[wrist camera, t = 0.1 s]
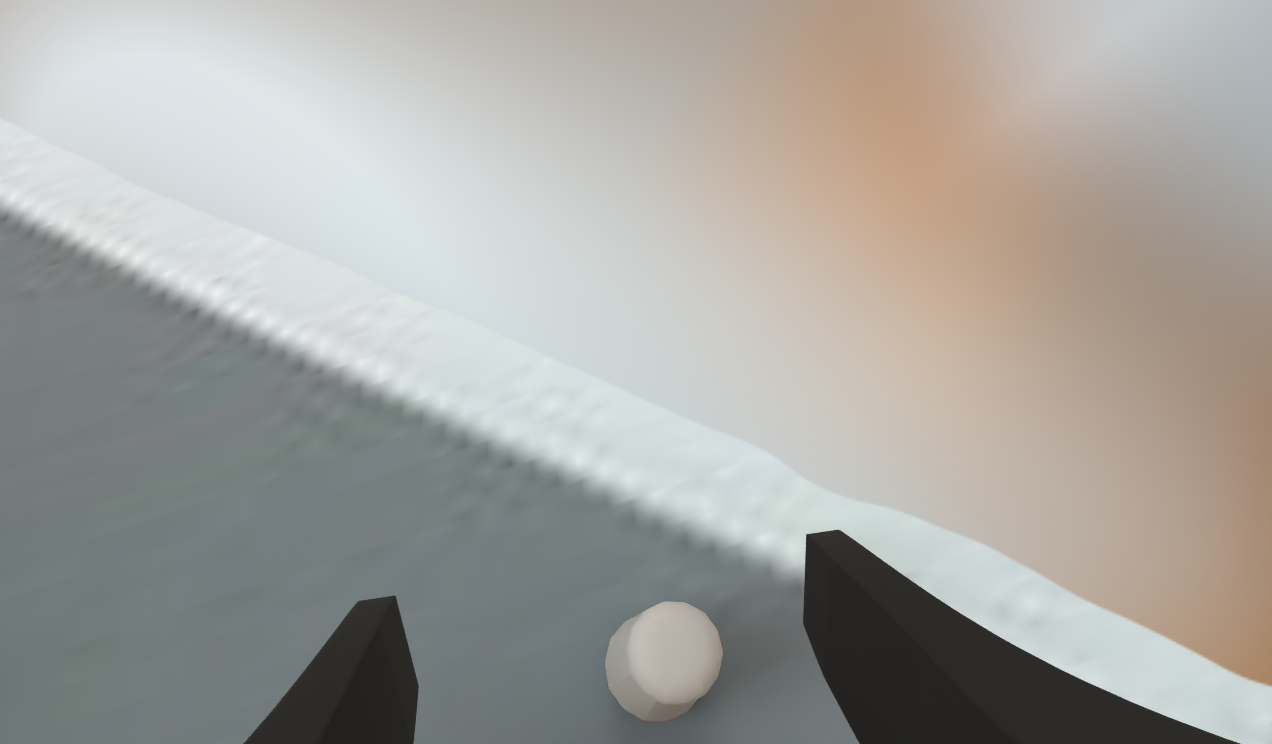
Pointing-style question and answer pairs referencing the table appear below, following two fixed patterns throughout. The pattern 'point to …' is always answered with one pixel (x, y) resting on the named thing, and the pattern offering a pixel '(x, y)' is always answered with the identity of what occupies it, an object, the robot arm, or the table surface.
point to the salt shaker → (663, 661)
